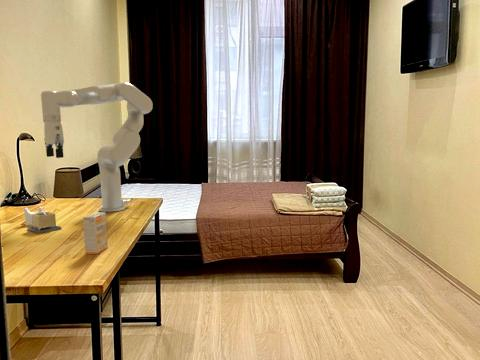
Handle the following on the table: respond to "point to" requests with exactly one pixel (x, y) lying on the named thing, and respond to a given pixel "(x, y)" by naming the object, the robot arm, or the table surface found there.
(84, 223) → the supplement box
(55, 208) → the table surface
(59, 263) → the table surface
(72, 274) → the table surface
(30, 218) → the bracket
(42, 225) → the collar
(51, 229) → the peg base plate
